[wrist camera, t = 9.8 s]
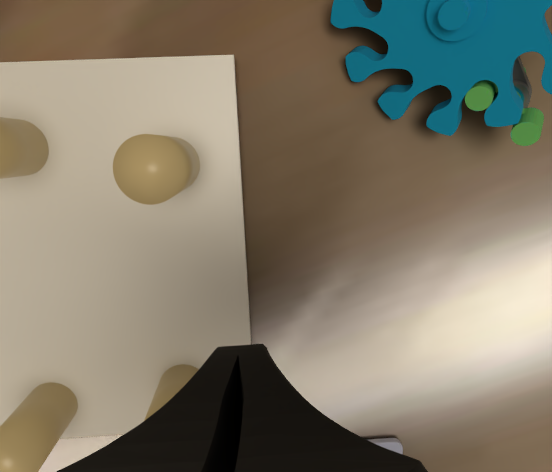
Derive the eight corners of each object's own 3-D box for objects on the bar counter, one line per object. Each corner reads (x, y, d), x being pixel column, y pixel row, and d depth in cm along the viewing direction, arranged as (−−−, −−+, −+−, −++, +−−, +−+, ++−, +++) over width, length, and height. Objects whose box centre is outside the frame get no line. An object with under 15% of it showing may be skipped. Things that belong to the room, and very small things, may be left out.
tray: (255, 412, 23) (256, 495, 17) (-129, 440, 22) (-253, 536, 16) (234, 59, 19) (227, 24, 13) (-232, 75, 18) (-439, 44, 13)
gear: (279, -34, 17) (578, -311, 10) (338, -62, 20) (587, -278, 13) (402, 188, 20) (684, 108, 13) (434, 131, 24) (668, 44, 17)
